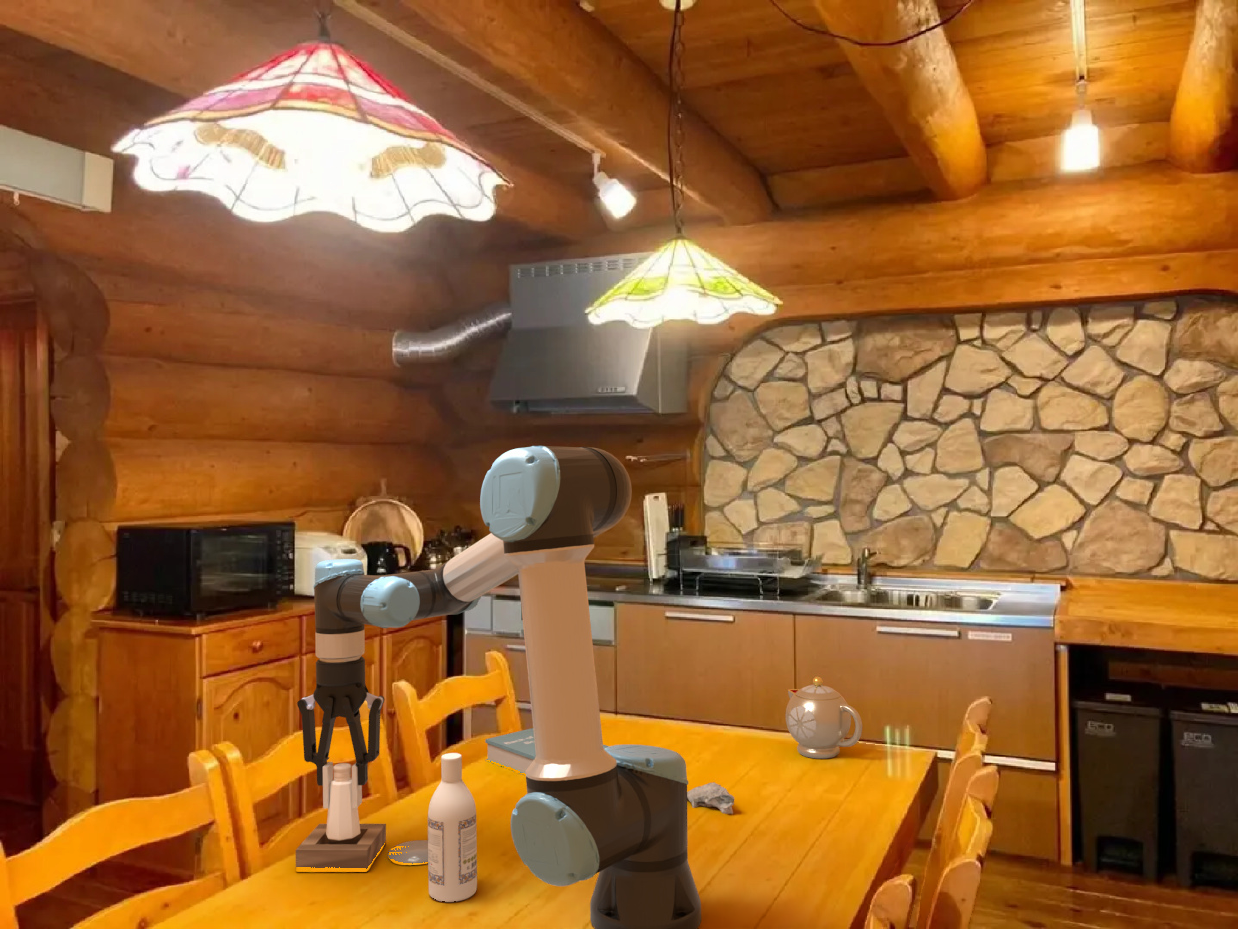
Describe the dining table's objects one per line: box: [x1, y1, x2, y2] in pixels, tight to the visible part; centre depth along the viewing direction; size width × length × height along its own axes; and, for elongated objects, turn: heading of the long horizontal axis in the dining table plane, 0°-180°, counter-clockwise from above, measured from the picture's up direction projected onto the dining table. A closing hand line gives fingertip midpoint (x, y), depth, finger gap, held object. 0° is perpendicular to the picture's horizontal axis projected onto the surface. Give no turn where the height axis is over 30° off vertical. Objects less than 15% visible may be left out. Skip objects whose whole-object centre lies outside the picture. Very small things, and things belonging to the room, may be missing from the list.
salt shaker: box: [326, 762, 361, 841], centre depth 157 cm, size 5×5×11 cm
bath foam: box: [427, 752, 478, 903], centre depth 144 cm, size 7×7×20 cm
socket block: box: [295, 823, 387, 869], centre depth 157 cm, size 11×11×4 cm
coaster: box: [387, 839, 428, 864], centre depth 158 cm, size 9×9×1 cm
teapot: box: [785, 676, 863, 760], centre depth 209 cm, size 18×14×16 cm
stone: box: [687, 781, 735, 815], centre depth 179 cm, size 6×12×4 cm, turn 17°
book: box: [484, 727, 609, 773], centre depth 205 cm, size 23×16×5 cm
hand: (342, 805), depth 156 cm, fingers closed on salt shaker, 4 cm apart
